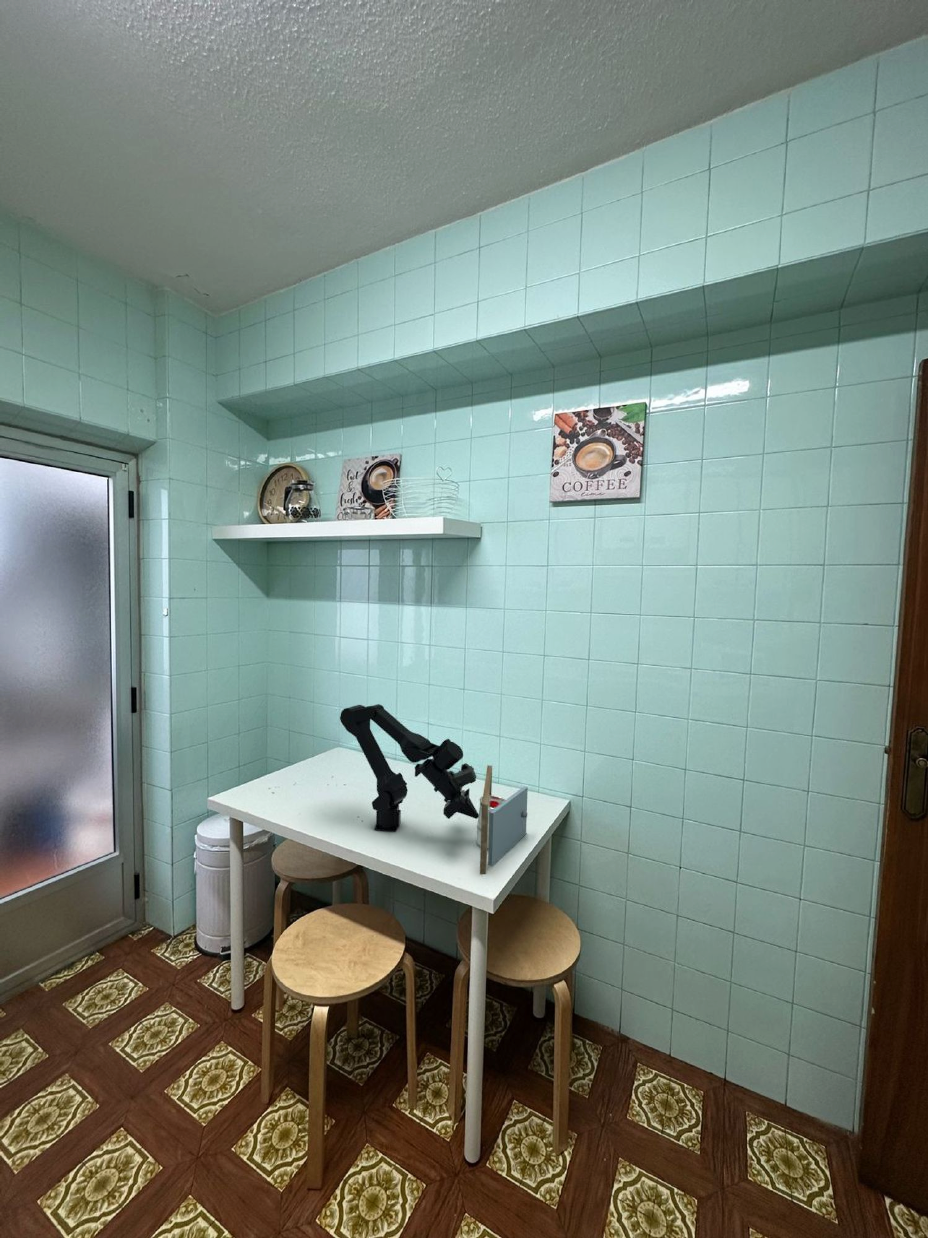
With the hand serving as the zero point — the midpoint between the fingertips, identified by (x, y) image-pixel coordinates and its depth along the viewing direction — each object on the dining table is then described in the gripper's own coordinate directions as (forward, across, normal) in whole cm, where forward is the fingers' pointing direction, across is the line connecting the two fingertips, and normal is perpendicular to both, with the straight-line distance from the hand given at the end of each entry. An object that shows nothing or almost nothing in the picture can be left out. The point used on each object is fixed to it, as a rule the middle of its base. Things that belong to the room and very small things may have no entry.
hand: (477, 817), depth 144 cm
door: (+12, -3, -1) cm, 12 cm away
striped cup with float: (+7, 0, +3) cm, 8 cm away
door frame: (+7, -1, +4) cm, 8 cm away
